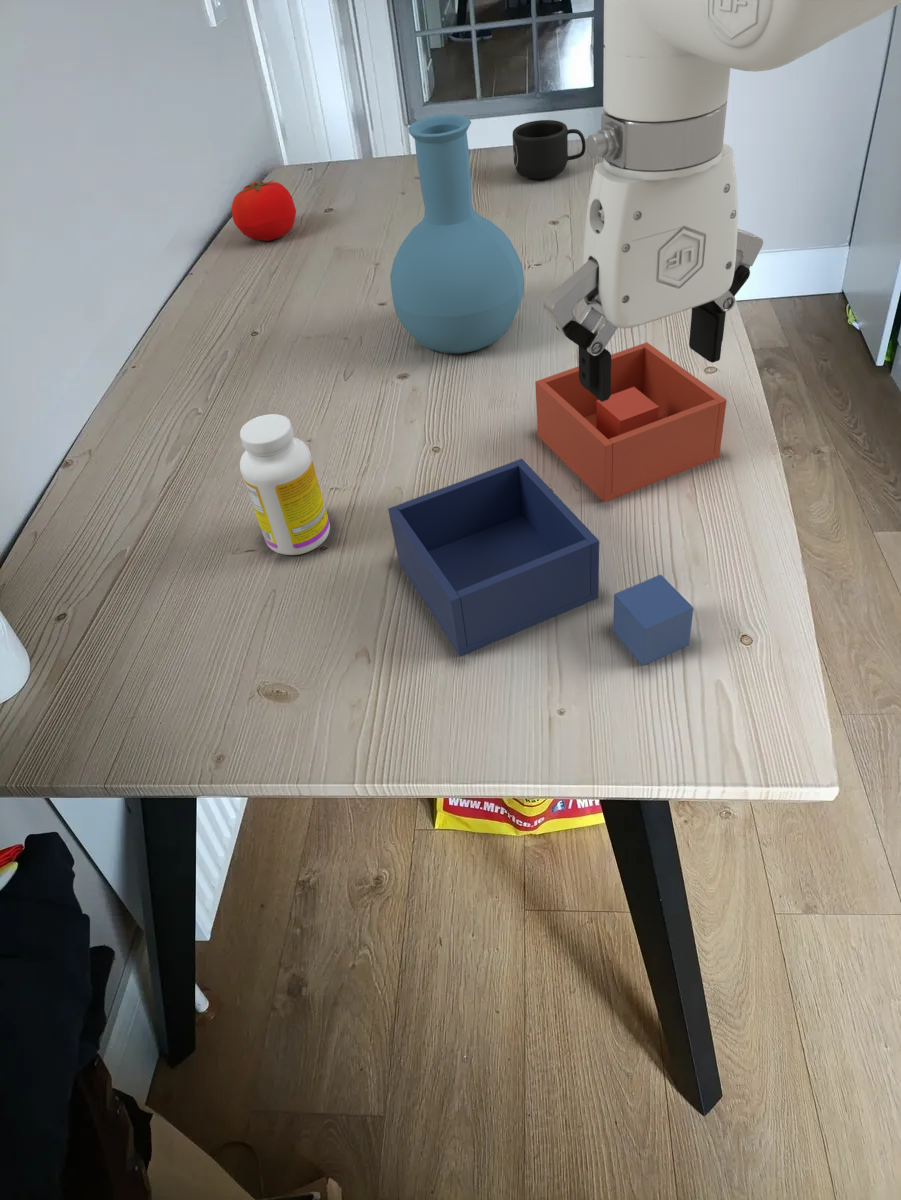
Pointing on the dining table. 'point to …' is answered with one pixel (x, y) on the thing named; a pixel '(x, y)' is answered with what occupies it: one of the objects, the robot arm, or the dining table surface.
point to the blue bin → (495, 555)
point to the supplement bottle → (283, 486)
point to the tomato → (264, 211)
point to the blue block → (652, 619)
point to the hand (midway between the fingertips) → (650, 373)
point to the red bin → (644, 452)
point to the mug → (542, 148)
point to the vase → (453, 252)
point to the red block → (625, 413)
